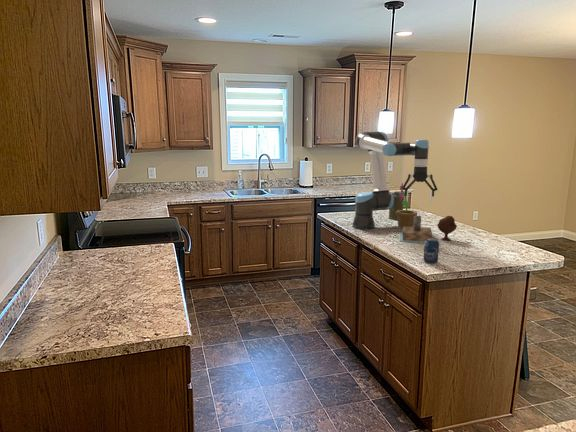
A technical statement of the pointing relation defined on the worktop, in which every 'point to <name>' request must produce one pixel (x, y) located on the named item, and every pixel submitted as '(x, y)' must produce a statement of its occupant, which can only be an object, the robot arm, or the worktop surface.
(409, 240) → the mat
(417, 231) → the lid
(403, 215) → the flowerpot
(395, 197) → the canister
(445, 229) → the ice cream bowl
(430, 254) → the soda can
